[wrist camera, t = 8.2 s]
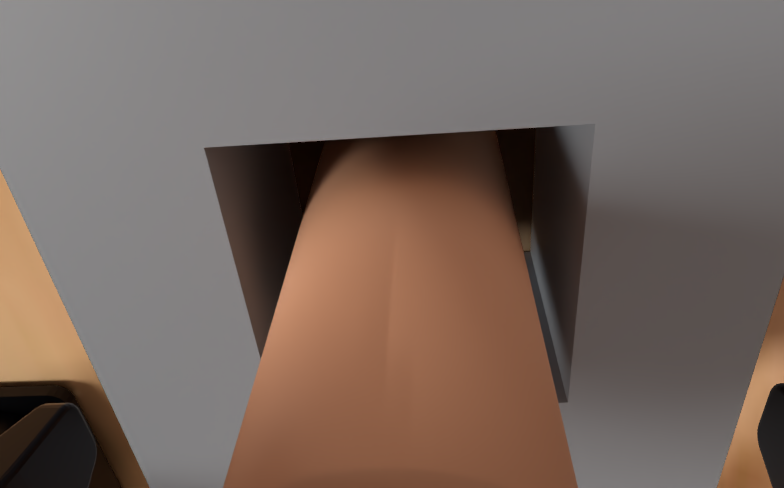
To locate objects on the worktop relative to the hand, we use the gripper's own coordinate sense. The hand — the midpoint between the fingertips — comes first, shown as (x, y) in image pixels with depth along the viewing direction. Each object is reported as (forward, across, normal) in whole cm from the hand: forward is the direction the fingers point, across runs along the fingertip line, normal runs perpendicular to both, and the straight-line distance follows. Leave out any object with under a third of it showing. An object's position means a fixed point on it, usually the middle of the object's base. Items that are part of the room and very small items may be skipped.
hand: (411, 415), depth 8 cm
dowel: (+8, 0, 0) cm, 8 cm away
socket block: (+8, 0, 0) cm, 8 cm away
